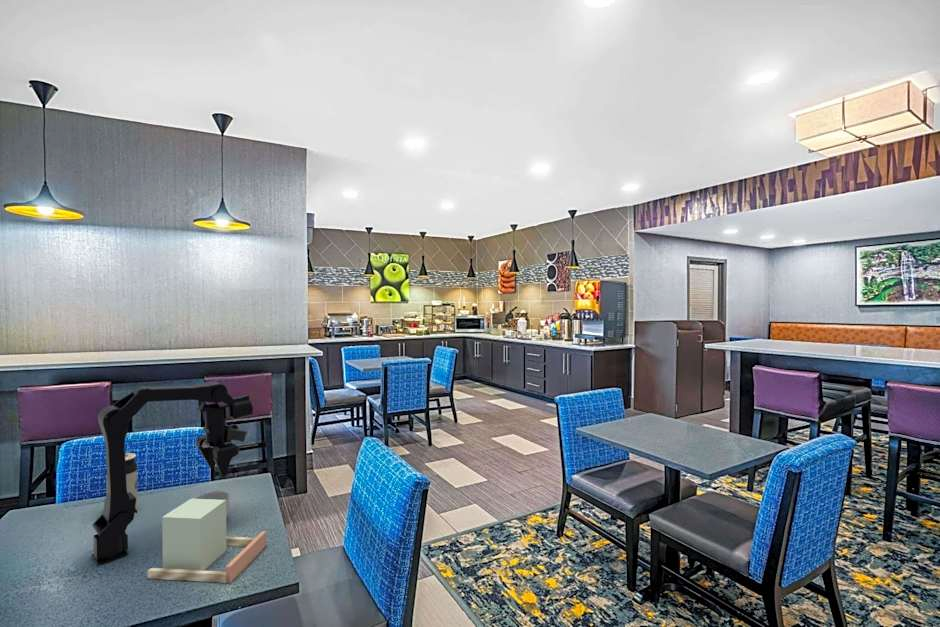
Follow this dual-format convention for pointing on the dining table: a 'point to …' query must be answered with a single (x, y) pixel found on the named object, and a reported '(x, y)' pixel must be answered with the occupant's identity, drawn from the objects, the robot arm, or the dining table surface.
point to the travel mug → (130, 476)
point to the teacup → (216, 497)
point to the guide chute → (232, 571)
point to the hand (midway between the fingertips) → (218, 472)
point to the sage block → (194, 534)
